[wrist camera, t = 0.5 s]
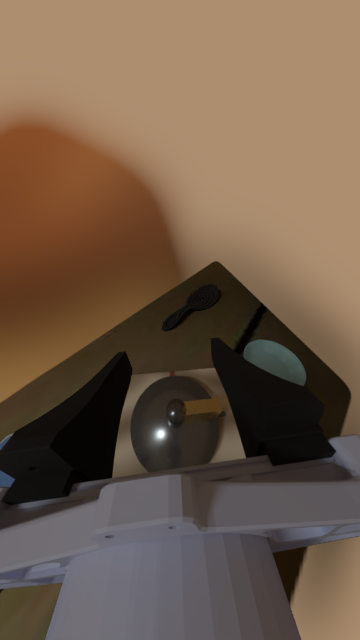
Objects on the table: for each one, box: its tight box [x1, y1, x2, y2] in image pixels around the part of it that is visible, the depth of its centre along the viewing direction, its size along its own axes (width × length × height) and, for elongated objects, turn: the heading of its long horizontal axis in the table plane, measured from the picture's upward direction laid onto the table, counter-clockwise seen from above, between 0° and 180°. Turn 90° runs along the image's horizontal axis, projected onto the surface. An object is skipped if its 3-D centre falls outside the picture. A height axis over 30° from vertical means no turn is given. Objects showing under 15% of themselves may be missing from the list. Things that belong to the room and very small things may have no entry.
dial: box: [130, 376, 222, 472], centre depth 21 cm, size 13×13×5 cm
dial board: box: [112, 368, 246, 478], centre depth 24 cm, size 16×22×2 cm
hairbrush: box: [162, 283, 219, 331], centre depth 45 cm, size 8×4×25 cm
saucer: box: [244, 340, 306, 386], centre depth 32 cm, size 12×12×2 cm
